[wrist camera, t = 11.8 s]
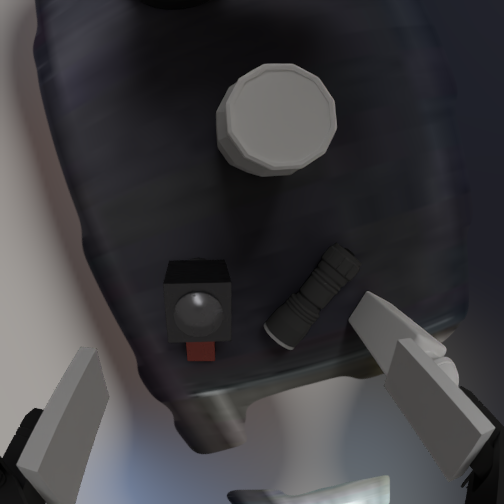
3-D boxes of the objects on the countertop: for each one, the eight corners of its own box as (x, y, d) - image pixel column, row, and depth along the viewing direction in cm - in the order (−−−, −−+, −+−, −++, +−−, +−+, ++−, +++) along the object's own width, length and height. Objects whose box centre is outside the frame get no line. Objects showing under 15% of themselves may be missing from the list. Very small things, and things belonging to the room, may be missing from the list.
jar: (204, 113, 37) (196, 75, 20) (277, 89, 37) (321, 42, 20) (230, 184, 40) (242, 199, 23) (302, 159, 40) (362, 158, 23)
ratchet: (175, 257, 42) (168, 274, 35) (220, 257, 42) (221, 274, 36) (181, 353, 46) (178, 379, 39) (221, 353, 46) (223, 379, 40)
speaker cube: (169, 260, 39) (162, 285, 31) (224, 259, 40) (231, 283, 32) (172, 311, 41) (168, 344, 33) (224, 309, 42) (231, 342, 34)
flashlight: (329, 234, 43) (344, 244, 38) (355, 257, 45) (371, 268, 40) (261, 318, 46) (266, 337, 40) (288, 336, 47) (297, 355, 42)
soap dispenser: (394, 301, 47) (479, 377, 26) (372, 334, 49) (444, 421, 28) (366, 286, 46) (453, 365, 25) (343, 321, 47) (413, 415, 26)
